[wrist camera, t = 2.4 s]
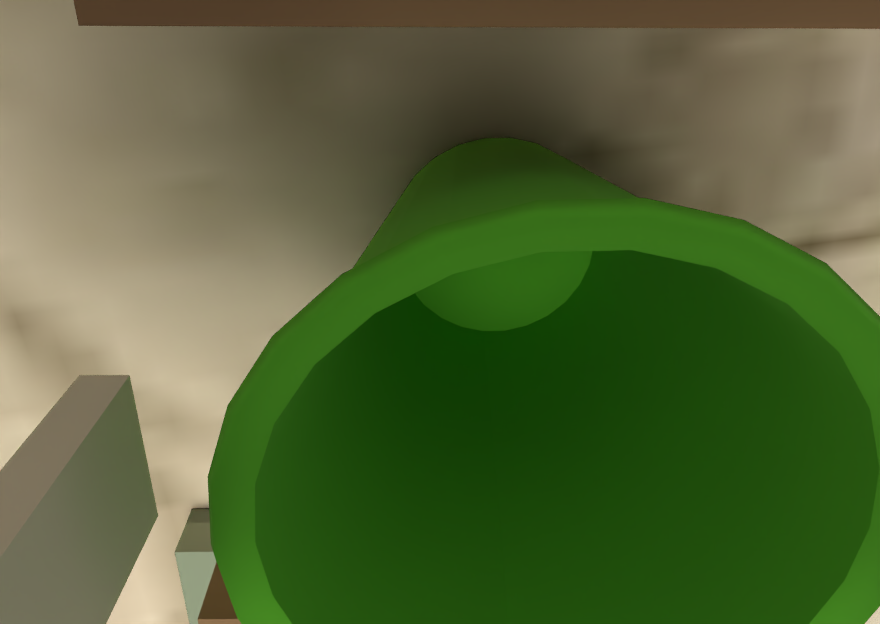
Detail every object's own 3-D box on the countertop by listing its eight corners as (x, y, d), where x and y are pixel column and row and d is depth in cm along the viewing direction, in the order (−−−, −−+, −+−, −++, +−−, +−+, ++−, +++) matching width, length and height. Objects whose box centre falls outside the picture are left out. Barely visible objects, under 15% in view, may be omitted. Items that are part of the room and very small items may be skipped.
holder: (189, -170, 15) (24, -244, 9) (825, -165, 15) (1101, -232, 9) (272, 502, 23) (216, 713, 17) (691, 498, 23) (789, 705, 17)
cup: (710, 71, 17) (1079, 246, 8) (626, 396, 22) (797, 783, 12) (324, 29, 17) (187, 160, 7) (312, 371, 21) (215, 757, 11)
